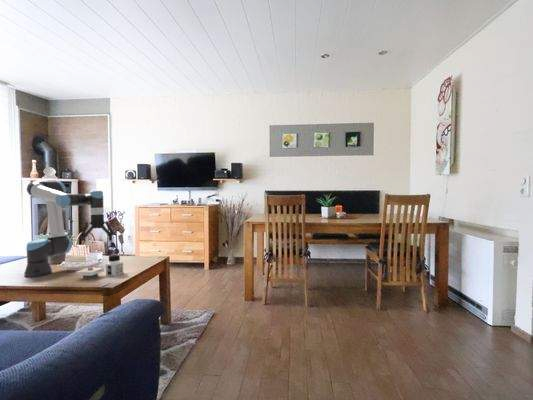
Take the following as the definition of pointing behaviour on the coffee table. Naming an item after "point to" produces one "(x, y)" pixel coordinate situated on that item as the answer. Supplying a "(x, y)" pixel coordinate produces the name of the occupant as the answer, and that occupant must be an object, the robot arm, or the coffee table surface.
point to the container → (114, 266)
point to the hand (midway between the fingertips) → (98, 246)
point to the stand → (90, 276)
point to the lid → (89, 271)
